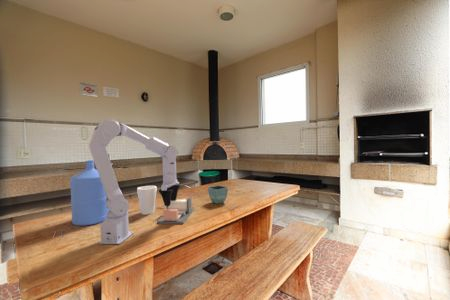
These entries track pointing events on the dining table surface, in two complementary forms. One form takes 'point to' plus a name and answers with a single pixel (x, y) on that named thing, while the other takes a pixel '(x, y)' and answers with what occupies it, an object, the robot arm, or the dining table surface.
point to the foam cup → (147, 199)
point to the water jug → (88, 197)
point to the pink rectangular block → (171, 215)
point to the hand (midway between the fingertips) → (170, 203)
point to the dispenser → (179, 211)
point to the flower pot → (217, 194)
